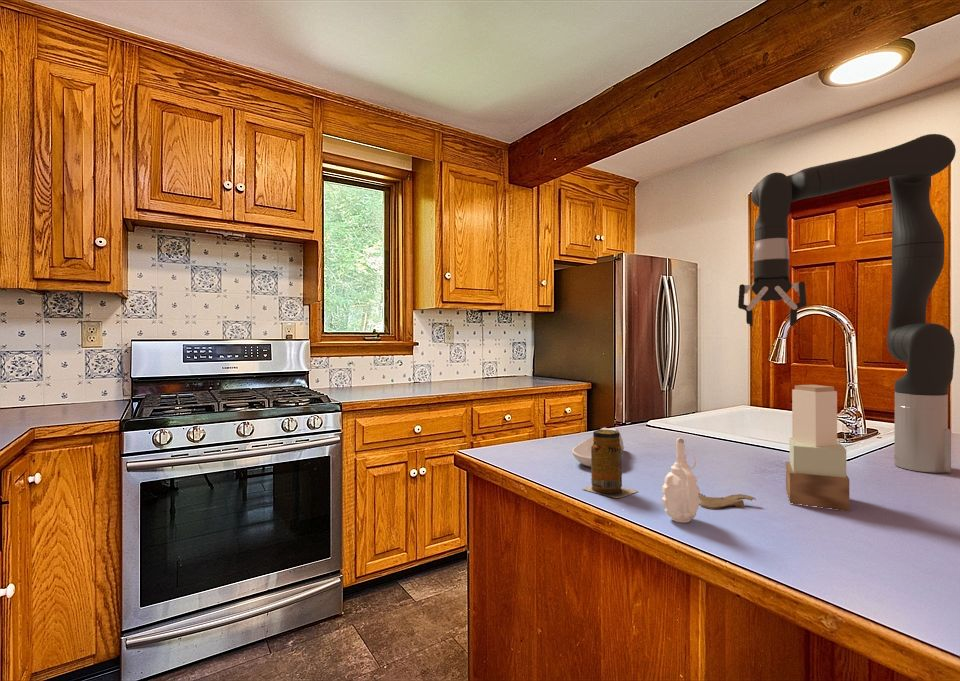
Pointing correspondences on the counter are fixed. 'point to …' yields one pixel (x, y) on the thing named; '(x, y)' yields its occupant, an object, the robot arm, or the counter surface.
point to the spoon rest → (588, 449)
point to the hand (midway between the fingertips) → (771, 326)
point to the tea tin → (814, 415)
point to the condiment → (607, 465)
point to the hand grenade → (681, 488)
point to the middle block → (818, 459)
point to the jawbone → (723, 501)
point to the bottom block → (817, 490)
